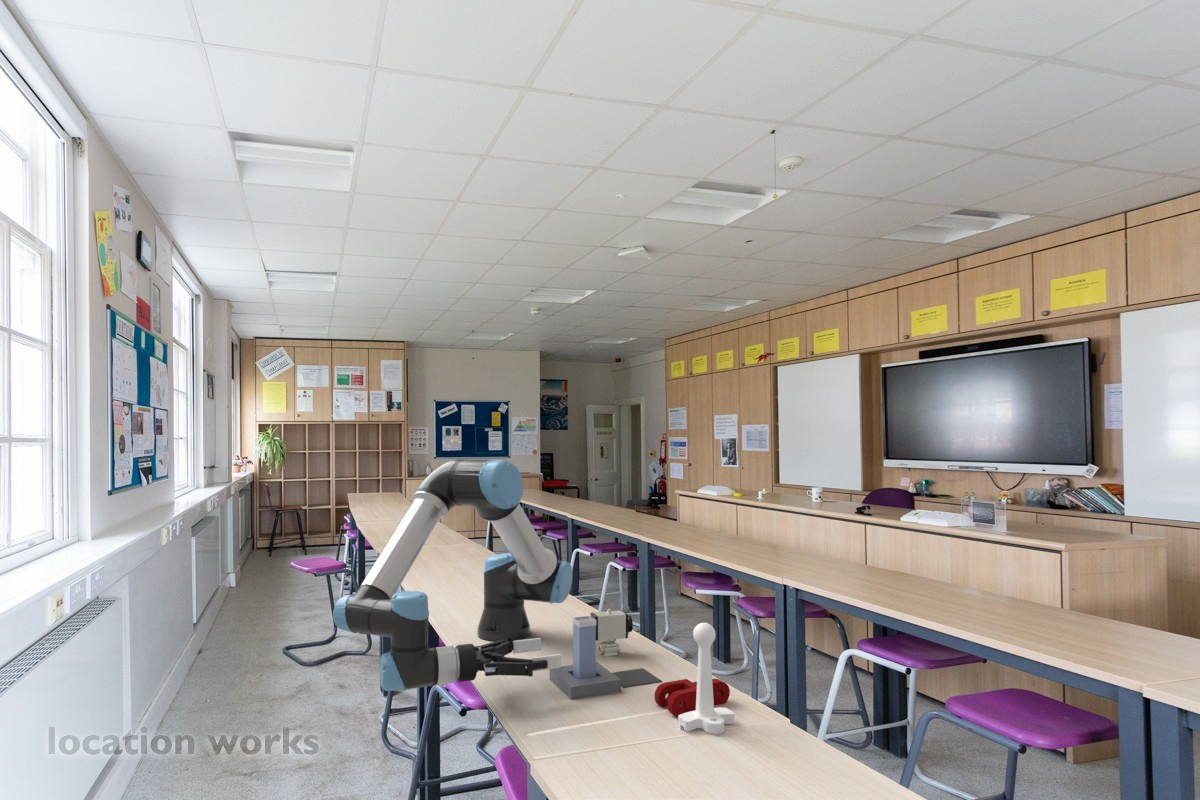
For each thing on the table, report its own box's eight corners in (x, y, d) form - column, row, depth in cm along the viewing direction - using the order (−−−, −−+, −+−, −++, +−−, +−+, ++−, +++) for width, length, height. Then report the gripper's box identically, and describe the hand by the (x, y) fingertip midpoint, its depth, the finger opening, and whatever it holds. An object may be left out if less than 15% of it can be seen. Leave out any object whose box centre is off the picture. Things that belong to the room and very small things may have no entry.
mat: (605, 676, 171) (605, 673, 171) (642, 670, 175) (642, 668, 175) (623, 689, 162) (623, 686, 162) (662, 683, 166) (662, 680, 166)
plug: (572, 683, 165) (572, 617, 166) (589, 681, 167) (589, 615, 167) (579, 689, 161) (579, 622, 162) (596, 686, 163) (596, 620, 164)
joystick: (722, 716, 147) (722, 617, 148) (743, 730, 140) (742, 626, 141) (675, 725, 142) (674, 623, 143) (694, 739, 135) (693, 632, 136)
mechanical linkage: (671, 720, 145) (671, 695, 146) (654, 708, 152) (654, 684, 152) (736, 707, 152) (736, 683, 152) (717, 696, 158) (717, 673, 159)
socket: (549, 681, 168) (549, 668, 168) (596, 674, 173) (596, 661, 173) (570, 701, 155) (570, 687, 155) (620, 693, 160) (620, 679, 160)
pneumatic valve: (633, 655, 187) (633, 609, 188) (590, 660, 184) (590, 612, 184) (626, 649, 192) (626, 604, 193) (584, 653, 189) (584, 607, 190)
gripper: (444, 664, 164) (533, 653, 172) (468, 701, 141) (569, 686, 149) (444, 631, 164) (533, 621, 172) (469, 662, 141) (569, 650, 150)
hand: (550, 652), depth 161 cm, fingers open, 13 cm apart
